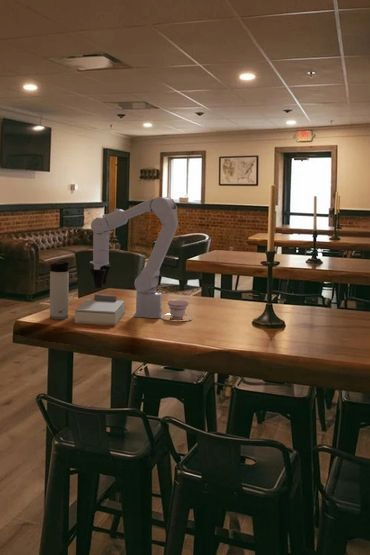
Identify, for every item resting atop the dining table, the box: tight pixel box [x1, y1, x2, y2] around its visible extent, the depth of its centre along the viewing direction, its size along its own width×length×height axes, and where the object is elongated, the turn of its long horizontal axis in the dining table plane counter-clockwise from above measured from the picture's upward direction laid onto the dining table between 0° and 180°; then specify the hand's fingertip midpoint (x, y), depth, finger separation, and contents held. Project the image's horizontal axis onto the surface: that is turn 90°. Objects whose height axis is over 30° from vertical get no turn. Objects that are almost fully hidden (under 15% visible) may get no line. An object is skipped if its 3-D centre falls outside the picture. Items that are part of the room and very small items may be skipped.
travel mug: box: [49, 261, 70, 321], centre depth 185 cm, size 6×7×20 cm
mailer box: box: [74, 302, 126, 326], centre depth 189 cm, size 14×18×4 cm
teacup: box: [160, 299, 194, 323], centre depth 194 cm, size 12×12×6 cm
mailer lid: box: [74, 294, 125, 313], centre depth 188 cm, size 14×18×2 cm
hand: (100, 286), depth 199 cm, fingers open, 7 cm apart
